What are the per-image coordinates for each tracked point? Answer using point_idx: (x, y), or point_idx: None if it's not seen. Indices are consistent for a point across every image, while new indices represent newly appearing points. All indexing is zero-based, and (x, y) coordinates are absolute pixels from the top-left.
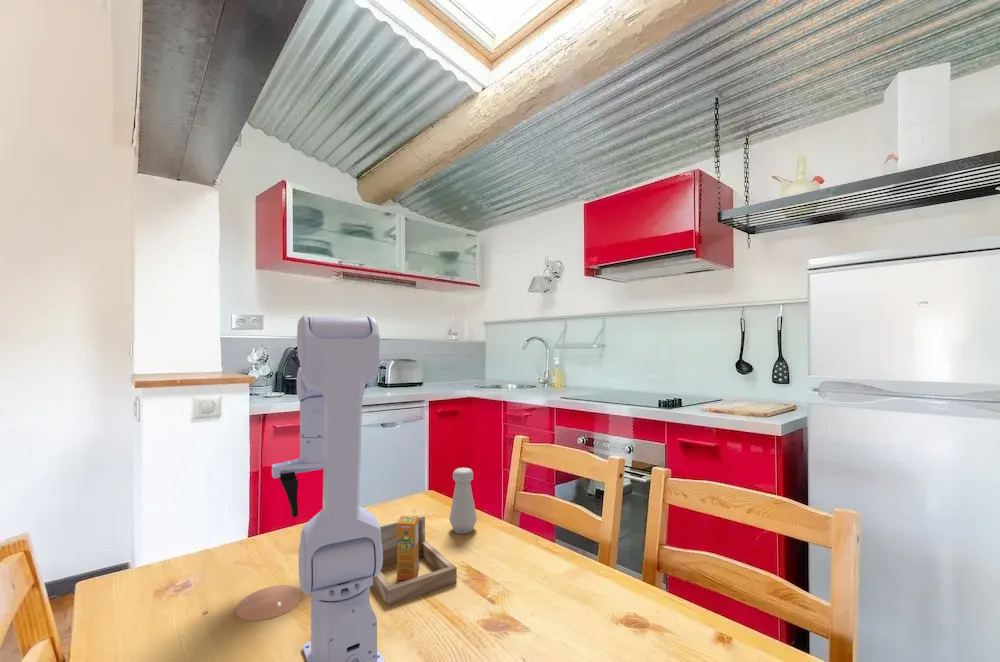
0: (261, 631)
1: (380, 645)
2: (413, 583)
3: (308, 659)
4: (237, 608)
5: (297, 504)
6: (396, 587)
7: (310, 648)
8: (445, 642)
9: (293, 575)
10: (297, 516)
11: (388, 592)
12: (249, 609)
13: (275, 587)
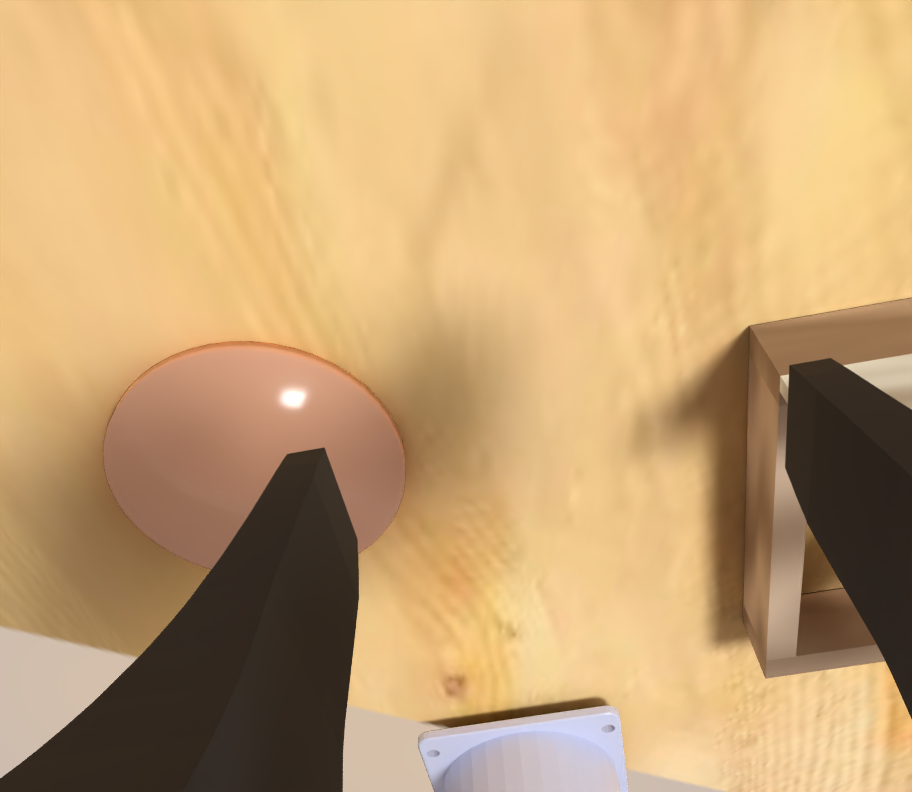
0: None
1: (646, 750)
2: None
3: (436, 787)
4: (112, 481)
5: (350, 671)
6: (804, 672)
7: (442, 759)
8: (818, 782)
9: (349, 226)
10: (355, 541)
11: (763, 672)
12: (174, 503)
13: (262, 367)
